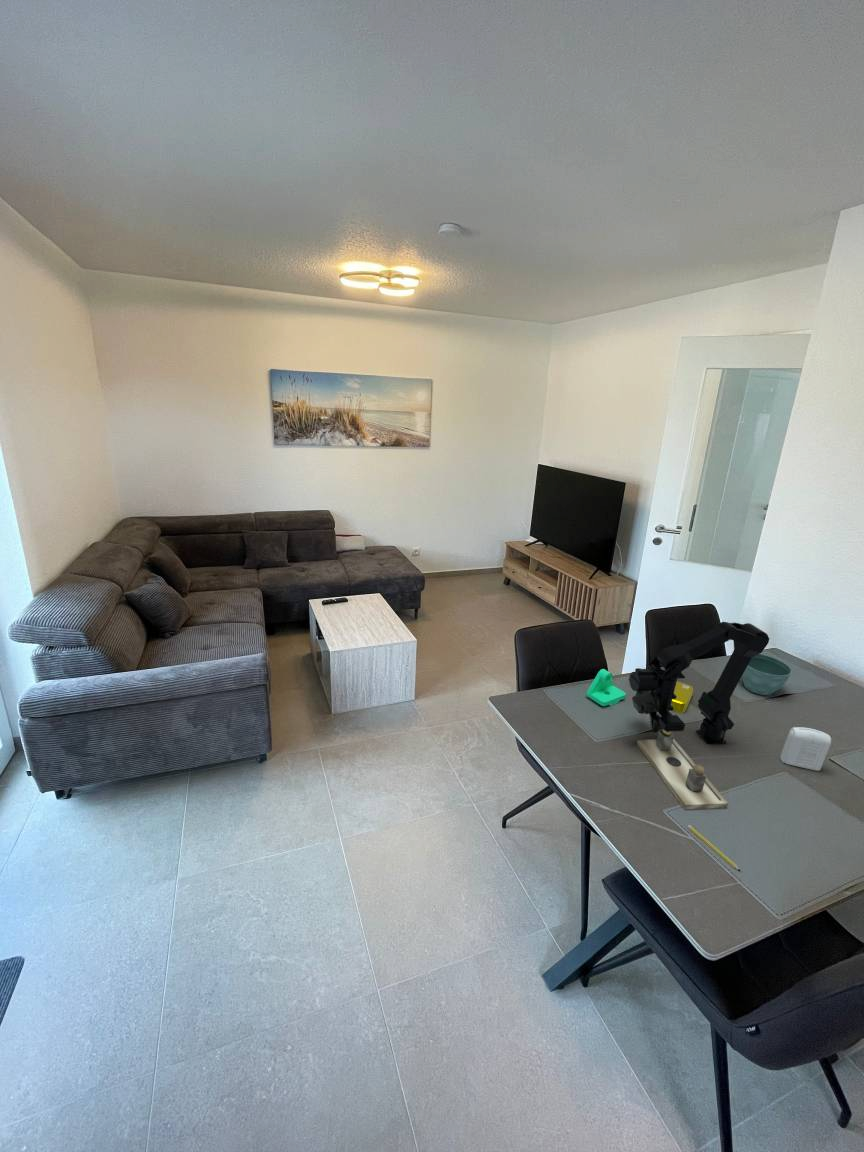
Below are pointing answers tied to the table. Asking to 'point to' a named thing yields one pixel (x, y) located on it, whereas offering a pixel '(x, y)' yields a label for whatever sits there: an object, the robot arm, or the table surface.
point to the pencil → (713, 847)
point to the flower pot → (765, 674)
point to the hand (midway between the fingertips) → (653, 731)
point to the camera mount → (605, 689)
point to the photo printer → (806, 748)
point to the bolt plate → (682, 776)
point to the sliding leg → (664, 740)
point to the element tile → (681, 697)
